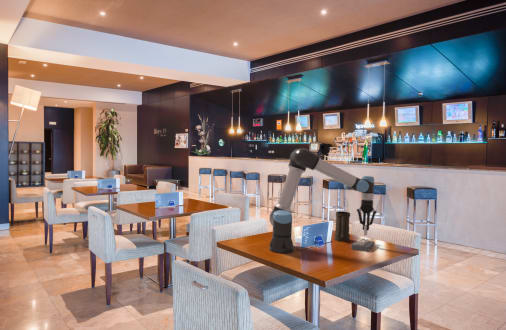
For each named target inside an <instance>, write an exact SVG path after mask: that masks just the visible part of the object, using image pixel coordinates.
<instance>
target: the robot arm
mask: <svg viewBox="0 0 506 330" xmlns="http://www.w3.org/2000/svg"><path fill="white" fill-rule="evenodd" d="M307 169H309V170H312V171H317V172H319V173H321V174H323V175H325V176H327V177H329V178H331V179H332V180H335V181H337V182H339V183H340V184H343V188H344V189H345V190H346V191H347V190H348V191H354V192H358V193H361V196H360V197H361V200H360V207H359V208H356V212H357V215H358V219H359V224H360V225H362V230H363V236H368V231H369V230H370V226H372V225H373V224H374V223H373V222H374V219H375V216H376V214H377V212H378V211H377V210H375V208H374V193H375V192H374V189H375V177H374V176H371V175H370V176H368V175H363V176H362V178H359V177H357V176H355V175H354V174H352V173H349V172H347V171H345V170H343V169H341V168H340V167H338V166H336V165H333V164H332V163H330V162H328V161H326V160H325V159H323V158H321V156H320V155H318V154H316V153H314V152H312V151H311V150H309V149H307V148H305V147H304V148H303V147H301V148H296V149H294V150H293V151H292V152H291V153H290V156H289V163H288V173H287V176H286V178H285V181H284V184H283V187H282V189H281V193H280V195H279V199H278V201H277V203H276V204H274V206H273V209H272V211H271V212H270V214H269V222H270V224H271V225H272V237H271V239H270V242H269V247H268V249H269V251H271V252H274V253H278V254H279V253H280V254H287V253H288V254H289V253H294V251H295V246H294V242H293V239H292V238H293V237H292V235H293V234H292V232H293V230H292V228H293V214H292V210H291V207H292V203H293V201H294V198H295V195H296V193H297V192H296V191H297V189H298V187H299V184H300V180H301V177H302V174H304V173H305V172H306V170H307ZM371 213H372V214H371ZM370 217H371V218H370Z"/></svg>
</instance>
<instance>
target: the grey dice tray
mask: <svg viewBox="0 0 506 330" xmlns="http://www.w3.org/2000/svg"><path fill="white" fill-rule="evenodd" d="M360 239H361V238H359V239H358V240H360ZM358 240H356V241H355V242H353V243H352V244H351V247H350V248H351V250H355V251H360V252H366V253H368V252H369V251H370V250H372V249H373V248H375V246H376V245H375V243H376V242H375V241H372V240H370V242H369V243H366V244H365V245H364V246H362V245H357V241H358ZM372 247H373V248H372ZM371 248H372V249H371Z"/></svg>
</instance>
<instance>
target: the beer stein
mask: <svg viewBox="0 0 506 330" xmlns="http://www.w3.org/2000/svg"><path fill="white" fill-rule="evenodd" d="M335 217H336V218H335V229H334V231H335V233H334V238H333V239H334V241H336V240H337V242H342V241H348V242H350V241H351V239H350V217H351V213H350V212H349V211H341V210H340V211H336V212H335Z"/></svg>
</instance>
